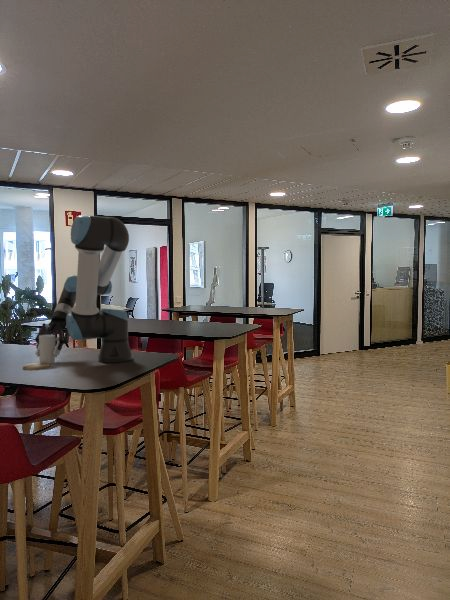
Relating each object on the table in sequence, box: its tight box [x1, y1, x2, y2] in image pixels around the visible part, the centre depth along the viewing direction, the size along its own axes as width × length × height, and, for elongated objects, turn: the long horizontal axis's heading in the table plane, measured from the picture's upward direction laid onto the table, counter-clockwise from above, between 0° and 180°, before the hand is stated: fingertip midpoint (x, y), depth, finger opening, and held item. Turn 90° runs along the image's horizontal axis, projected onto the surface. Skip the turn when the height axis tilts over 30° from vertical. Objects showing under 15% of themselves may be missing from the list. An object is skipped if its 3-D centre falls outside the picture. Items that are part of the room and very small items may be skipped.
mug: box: [38, 334, 62, 365], centre depth 206 cm, size 10×7×12 cm, turn 135°
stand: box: [22, 362, 51, 371], centre depth 196 cm, size 11×11×1 cm
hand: (46, 355), depth 203 cm, fingers closed on mug, 7 cm apart
